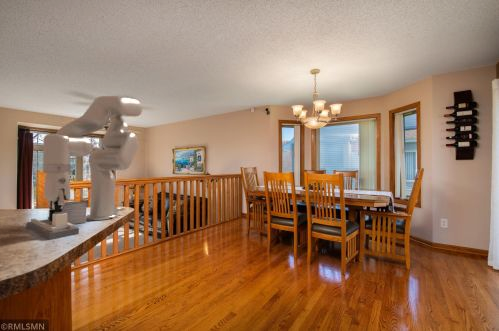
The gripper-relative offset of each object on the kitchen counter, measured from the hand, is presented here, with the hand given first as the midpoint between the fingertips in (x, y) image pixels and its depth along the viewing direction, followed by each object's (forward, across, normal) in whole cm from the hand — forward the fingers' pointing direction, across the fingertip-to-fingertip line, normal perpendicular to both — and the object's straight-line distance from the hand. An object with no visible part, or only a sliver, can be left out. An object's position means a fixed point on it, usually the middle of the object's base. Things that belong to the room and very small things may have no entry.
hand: (55, 220), depth 82 cm
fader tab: (+2, -4, 0) cm, 4 cm away
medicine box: (+5, +10, -9) cm, 14 cm away
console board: (+4, +4, 0) cm, 6 cm away
